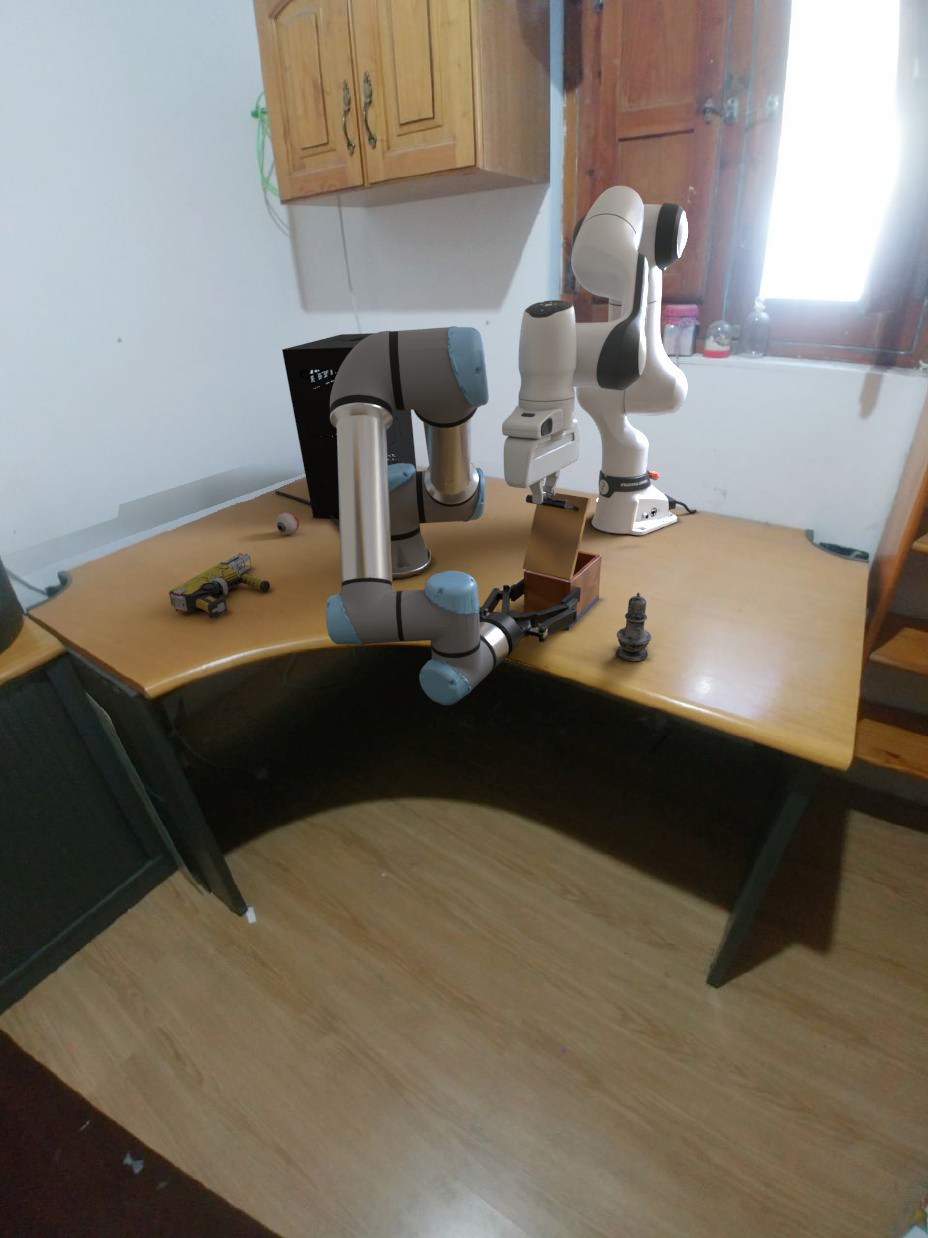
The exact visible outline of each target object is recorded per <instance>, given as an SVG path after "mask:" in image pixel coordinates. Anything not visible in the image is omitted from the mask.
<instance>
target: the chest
mask: <svg viewBox="0 0 928 1238" xmlns="http://www.w3.org/2000/svg"><path fill="white" fill-rule="evenodd" d="M602 557H603V556H602V554H597V553H593V552H588V551H584V550H579V552H578V556H577V560H576V564H575V569H574V573H573V577H572V580H569V579H565V578H561V577H557V576H552V575H548V574H544V573H540V572H535V571H531V570H527V569H524V570H523V578H524V594H523V613H526V612H530V611H534V612H538V611H542V610H545V609H548V608H552V607H555V606H559V605H561V601H562V600H563V599H564V598H565V597H566V596H568V595H569V594H570V593H571V592H572V591H573V590H574V589H575V588H576V587H580V588H581V592H580V601H579V602H578V603H577V621H576V622H575V623H573V624H571V625H569V626H567V627H566V628H564V629H563V630H568V631H570V629H572V627H573V626H574V625H576V623H578V622H579V621H580V620H581V618H583V616H584V615H585V614H586V613H587V612H588V611H589V610H590V609H591V608H592V607H593V606H595V604H596V603H597V602H598V601H599V600H600V582H601V570H602V569H601V568H602Z"/></svg>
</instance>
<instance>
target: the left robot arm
mask: <svg viewBox="0 0 928 1238" xmlns="http://www.w3.org/2000/svg"><path fill="white" fill-rule="evenodd" d="M374 333H375V334H372V335H370V336H368V337H366V338H365V339H363V340H362V341H361V342H359V343H358V344H357V345H356V346H355V347H354V348H353V349H352V350H351V352H350V353H349V354H348V355H347V357H346V358H345V360H344V361H343V363H342V365H341V366H340V369H339V371H338V373H337V375H336V378H335V381H334V380H333V381H334V384H333V387H332V392H331V397H330V421H331V423H332V425H333V426H334V427H335V428H337V446H338V485H339V518H335V517H334V516H333V515H330V517H331V518H330V519H331V520H332V521H333V522H334V523H335V524H336V525H337V526H338V529H339V554H340V555H339V556H340V557H339V558H340V559H339V560H340V561H339V562H340V584H341V589H340V593H337V594H332V595H330V596H329V597H328V598H327V600H326V604H325V606H326V607H325V608H326V609H325V627H326V631H327V634H328V637H329V639H330V640H331V642H333V643H334V644H335V645H338V646H339V645H340V646H341V645H345V646H346V645H360V646H365V645H372V644H373V645H375V644H387V643H408V642H425V641H426V642H427V641H430V648H431V659H429V660H427V661H426V663H425V664H424V665H423V666H422V668H421V669H420V672H419V675H418V677H419V684H420V687H421V690H423V692H424V694H425V695H426V696H427V697H428V698H429V699H430V700H432V701H433V702H435V703H437V704H439V705H442V706H453V705H455V704H457V703H458V702H460V701H461V700H462V699H463V698H465V697H466V696H468V695H469V694H470V693H471V691H473V690H474V689H475V688H476V687H477V686H478V685H479V684H480V683H481V682H482V681H483V680H484V679H485V678H486V677H487V676H488V675H490V673H491V672H492V671H493V670H495V669H496V668H497V667H498V666H499V665H500V664H501V663H502V662H504V661H505V659H506V658H508V657H510V655H511V654H512V653H514V651H515V650H516V649H518V648H519V646H520V645H521V643H522V641H523V640H524V639H526V638H529V637H531V636H532V637H536V638H537V642H539V643H544V642H545V641H546V640H547V639H549V637H550V636H553V635H554V634H556V633H558V632H560V631H562V630H565V629H564V628H566V627H567V626H569V625H571V624H573V623H575V622H576V621H577V603H578V602H579V601H580V592H581V588H580V587H576V588H575V589H574V590H573V591H572V592H571V593H570V594H569V595H568V596H566V597H565V598H564V599H563V600H562V601H561V605H559V606H555V607H552V608H548V609H545V610H542V611H538V612H534V611H530V612H526V613H524V612H519V611H516V610H514V609H510V603H511V602H513V603H515V602H516V601H517V600H518V599H520V598H521V597H523V596H524V577H523V578H522V579H520V580H519V581H518V582H517V583H514V584H511V585H510V584H504V585H503V586H502V589H501V590H500V587H494V588H492V590H491V592H490V593H489V595H488V596H487V598H486V599H485V601H484V603H483V605H482V606H480V602H479V593H478V592H479V591H478V584H477V582H476V580H475V578H474V577H473V576H472V575H471V574H469V573H467V572H463V571H458V570H444V571H442V572H441V573H434V574H433V575H430V576H429V577H428V579H427V580H426V582H425V587H424V589H413V590H411V589H409V590H394V591H393V579H394V580H397V579H405V578H411V577H415V576H417V575H420V574H422V573H424V572H425V571H427V570H428V569H429V568H430V567H431V564H432V558H431V557H432V549H431V548H430V549H428V548H427V546H426V542H425V540H424V537H423V534H422V531H421V524H436V523H452V522H453V523H454V522H455V523H456V522H463V523H468V522H470V521H477V520H480V518H482V516H483V514H484V511H485V504H486V503H485V500H486V499H485V498H486V479H485V473H484V471H483V469H482V468H480V467H477V466H475V464H474V463H473V462H472V418H473V417H474V416H475V415H476V413H477V412H478V408H481V407H482V406H486V405H487V404H488V402H489V395H490V393H489V384H488V372H487V365H486V356H485V350H484V349H485V348H484V342H483V338H482V335H481V333H480V332H479V330H478V329H476V328H475V327H473V326H472V327H471V326H457V325H452V326H445V327H433V328H418V329H405V330H383V331H382V330H381V331H378V332H374ZM395 410H398V411H401V410H411V411H413V412H414V414H415V416H416V417H417V418H418V420H420V421H421V422H422V423H423V430H424V431H423V432H424V437H425V446H426V451H427V459H428V467H427V468H426V470H417V468H416V469H415V468H414V466H413V465H412V464H408V463H407V464H405V463H399V464H392V465H388V459H387V434H386V430H387V429H388V428H389V427H390V426H391V425H392V421H393V419H392V411H395ZM416 470H417V471H416ZM275 494H277V495H280V496H283V497H287V498H289V499H293V500H296V501H299V502H302V503H304V504H307V505H309V506H311V502H310V500H307V499H304V498H301V497H299V496H296V495H292V494H290V493H289V494H288V493H286V492H283V491H280V490H275ZM338 519H339V520H338ZM500 602H501V609H500V611H495V610H496V608H497V606H498V605H499V603H500ZM577 622H578V621H577ZM577 622H576V623H577ZM576 623H575V624H576Z"/></svg>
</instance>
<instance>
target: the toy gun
mask: <svg viewBox="0 0 928 1238" xmlns="http://www.w3.org/2000/svg"><path fill="white" fill-rule="evenodd" d="M248 561H249V565H247V564H246V563H247V562H248ZM250 569H252V557H251V555H250V554H248V553H243V552H239V553H238V554H236V555H233V556H232V557H231V558H229V559H227V560H226V561H223V562H222V561H221V562H219V563H218V564H216V565H214V566H212V567H211V568H209V569H207V570H205V571H204V572H201V573H199V574H198V575H196V576H194V577H192V578H191V579H189V580H187V581H185V582H183V583H181V584H179V585H178V586H176V587H174V588H172V589H170V590H169V592H168V595H169V600H170V604H171V606H172V608H173V609H175V611H176V612H179V613H184V612H188V613H189V612H196V611H200V610H203V611H205V612H206V613H208V616H209V619H215V618H216V617H218V616H219V615H222V614H224V613H226V612H228V609H227V601H226V598H225V597H227V596H228V595H229V591H230V590H232V589H234V588H236V587H238V586H240V585H241V584H243V585H247V586H249V587H251V588H254V589H256V590H259V591H261V592H262V593H267V592H268V591H269V590H271V583H270V582H269V581H268V580H264V579H261V578H258V577H257V576H254V575H251V574H248V573H245V572H247V571H248V570H250ZM243 573H245V574H243ZM240 575H242V576H240Z"/></svg>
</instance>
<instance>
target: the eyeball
mask: <svg viewBox="0 0 928 1238" xmlns="http://www.w3.org/2000/svg"><path fill="white" fill-rule="evenodd" d="M299 525H300V522H299V519H298V517H297V516H296V515H295V514H294V513H292V512H287V511H286V512H282V513H280V514H279V515H278V516H277V517H276V520H275V527H276V529H277V530H278V531H279V532H280V533H281V534H282V535H285V536H286V535H287V536H289V535H293V534H295V533H296V532H297V531H298V529H299Z"/></svg>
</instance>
